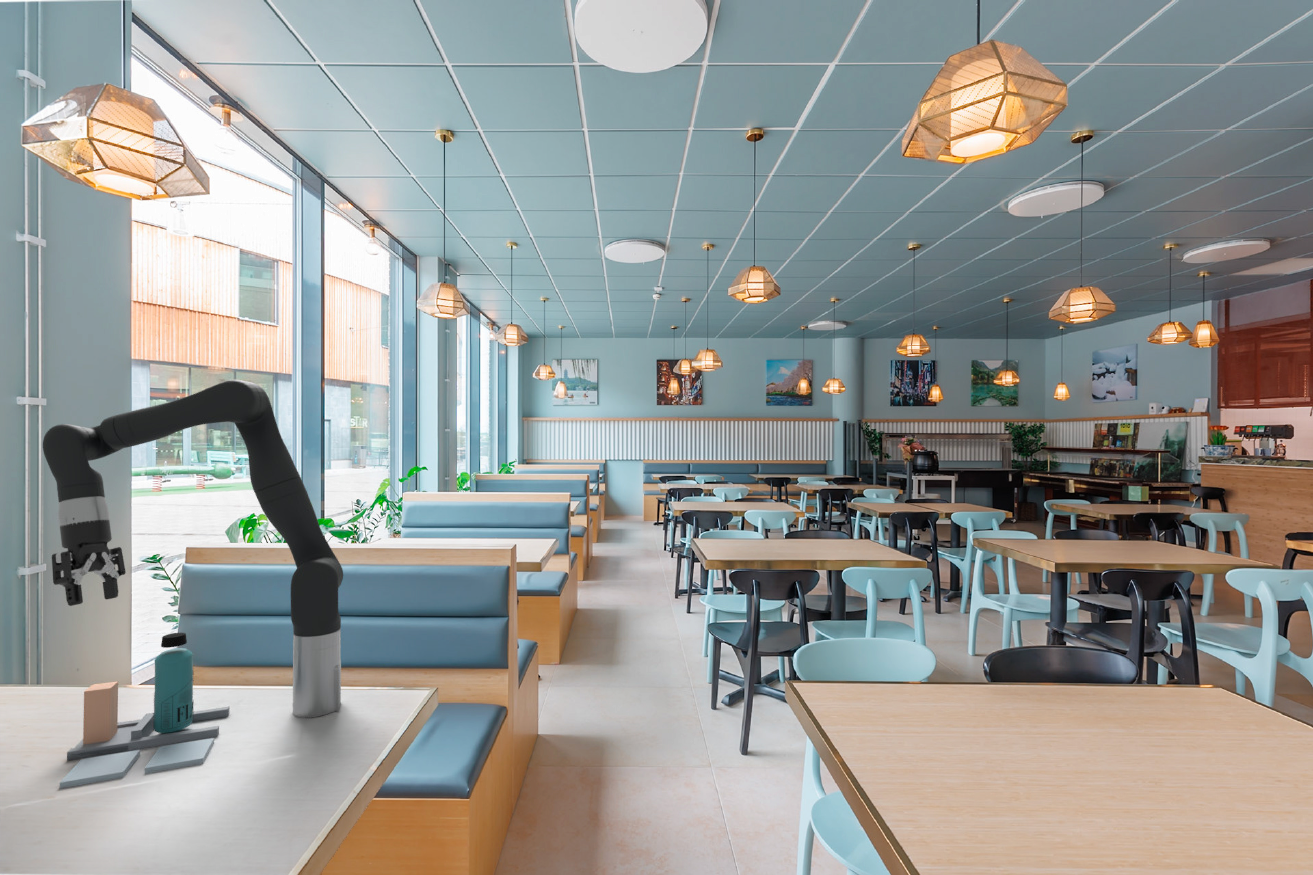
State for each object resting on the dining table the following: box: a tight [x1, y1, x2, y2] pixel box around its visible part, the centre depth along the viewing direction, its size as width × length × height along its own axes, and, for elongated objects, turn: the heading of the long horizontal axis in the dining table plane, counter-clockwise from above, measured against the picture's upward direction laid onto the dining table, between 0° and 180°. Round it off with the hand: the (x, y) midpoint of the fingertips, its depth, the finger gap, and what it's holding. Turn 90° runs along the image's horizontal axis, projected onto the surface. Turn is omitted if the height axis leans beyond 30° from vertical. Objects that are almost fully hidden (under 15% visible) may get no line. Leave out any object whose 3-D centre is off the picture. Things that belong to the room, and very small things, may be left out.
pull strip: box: [66, 681, 230, 761], centre depth 126 cm, size 23×12×11 cm, turn 115°
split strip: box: [59, 737, 215, 789], centre depth 114 cm, size 20×9×1 cm, turn 115°
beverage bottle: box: [152, 632, 195, 734], centre depth 127 cm, size 6×7×20 cm
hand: (94, 601), depth 126 cm, fingers open, 8 cm apart
